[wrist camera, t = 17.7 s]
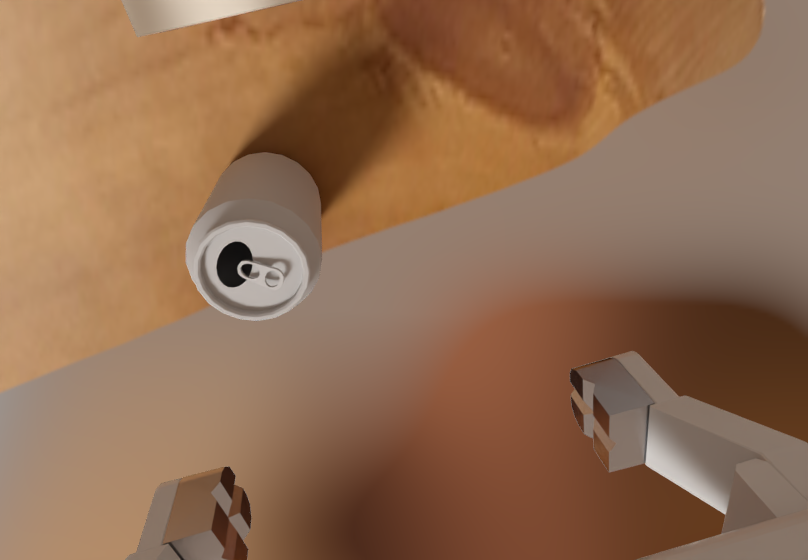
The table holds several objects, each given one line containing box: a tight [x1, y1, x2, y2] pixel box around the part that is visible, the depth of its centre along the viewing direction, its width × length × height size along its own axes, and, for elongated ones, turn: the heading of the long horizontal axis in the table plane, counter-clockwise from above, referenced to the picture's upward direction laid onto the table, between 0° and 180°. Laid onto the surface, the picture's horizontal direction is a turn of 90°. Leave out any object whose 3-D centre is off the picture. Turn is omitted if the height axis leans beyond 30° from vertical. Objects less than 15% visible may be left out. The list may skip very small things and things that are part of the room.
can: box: [186, 152, 322, 321], centre depth 32 cm, size 8×8×12 cm
